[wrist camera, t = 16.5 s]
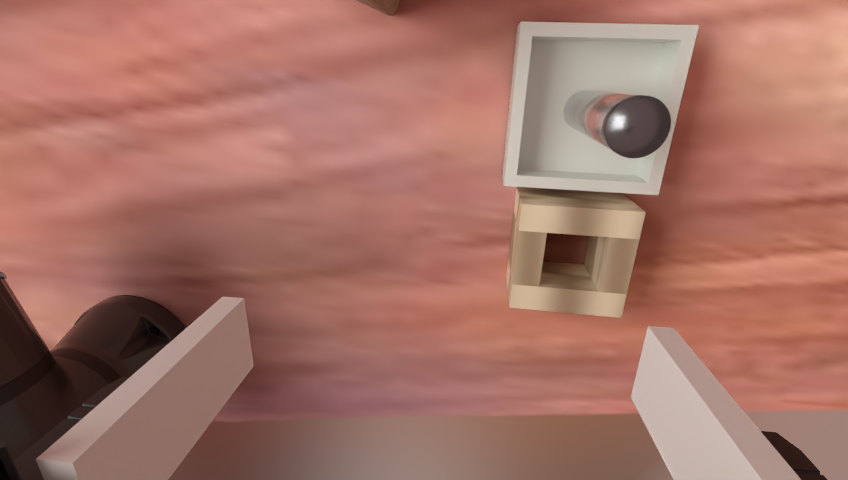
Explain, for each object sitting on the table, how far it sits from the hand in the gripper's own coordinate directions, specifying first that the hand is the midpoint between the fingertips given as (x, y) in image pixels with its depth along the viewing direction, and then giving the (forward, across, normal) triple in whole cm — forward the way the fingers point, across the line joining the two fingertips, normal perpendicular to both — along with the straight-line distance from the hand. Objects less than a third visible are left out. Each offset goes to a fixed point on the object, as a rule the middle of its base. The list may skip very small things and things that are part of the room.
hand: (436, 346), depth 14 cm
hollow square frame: (+29, +11, -6) cm, 32 cm away
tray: (+29, +11, +6) cm, 32 cm away
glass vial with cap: (+28, +11, +6) cm, 31 cm away
